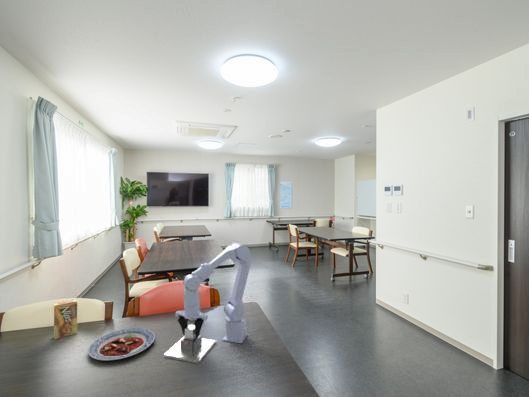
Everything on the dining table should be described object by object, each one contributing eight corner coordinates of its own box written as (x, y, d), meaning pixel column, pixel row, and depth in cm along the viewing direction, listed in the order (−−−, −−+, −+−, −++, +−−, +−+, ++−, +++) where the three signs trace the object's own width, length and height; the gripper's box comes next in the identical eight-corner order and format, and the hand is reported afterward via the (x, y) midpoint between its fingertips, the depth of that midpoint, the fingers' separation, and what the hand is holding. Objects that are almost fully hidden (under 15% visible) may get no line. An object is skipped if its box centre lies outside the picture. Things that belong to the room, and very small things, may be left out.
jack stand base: (216, 342, 122) (216, 331, 122) (198, 363, 106) (198, 350, 106) (184, 337, 126) (184, 326, 126) (163, 356, 110) (163, 344, 110)
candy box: (76, 330, 132) (76, 299, 132) (77, 333, 129) (77, 301, 129) (53, 336, 127) (53, 303, 127) (54, 339, 123) (54, 306, 123)
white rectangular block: (197, 344, 118) (198, 325, 118) (193, 350, 114) (193, 329, 114) (189, 343, 119) (189, 324, 119) (184, 348, 115) (184, 328, 115)
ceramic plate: (128, 369, 103) (128, 361, 103) (72, 360, 108) (72, 353, 108) (166, 335, 128) (166, 329, 128) (119, 330, 133) (119, 324, 133)
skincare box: (200, 318, 146) (200, 290, 146) (190, 321, 142) (190, 293, 142) (192, 313, 152) (193, 287, 152) (183, 316, 148) (183, 289, 148)
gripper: (171, 304, 114) (171, 336, 114) (202, 308, 110) (202, 341, 110) (180, 298, 121) (180, 329, 121) (209, 302, 117) (209, 333, 117)
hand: (191, 334), depth 116 cm, fingers open, 5 cm apart
